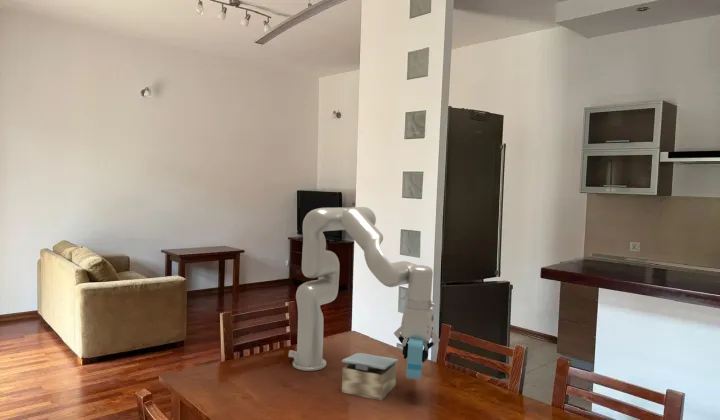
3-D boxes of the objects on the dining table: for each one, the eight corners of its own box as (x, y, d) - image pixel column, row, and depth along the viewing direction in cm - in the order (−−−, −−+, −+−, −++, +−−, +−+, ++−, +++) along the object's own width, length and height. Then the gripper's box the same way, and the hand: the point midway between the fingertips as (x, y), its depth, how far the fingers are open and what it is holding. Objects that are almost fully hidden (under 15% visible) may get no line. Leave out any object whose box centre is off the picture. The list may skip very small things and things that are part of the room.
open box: (341, 392, 167) (342, 368, 166) (358, 377, 179) (358, 355, 179) (381, 400, 161) (382, 375, 161) (395, 384, 174) (396, 362, 174)
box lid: (340, 365, 165) (340, 360, 165) (357, 357, 179) (358, 352, 180) (382, 373, 160) (383, 368, 160) (397, 364, 174) (398, 359, 174)
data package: (420, 381, 158) (422, 343, 157) (405, 379, 159) (408, 341, 158) (421, 367, 170) (424, 332, 169) (408, 365, 171) (410, 330, 170)
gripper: (447, 305, 163) (443, 360, 164) (397, 297, 170) (393, 351, 171) (442, 310, 156) (438, 368, 157) (389, 302, 163) (386, 357, 164)
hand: (415, 358), depth 164 cm, fingers closed on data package, 5 cm apart
